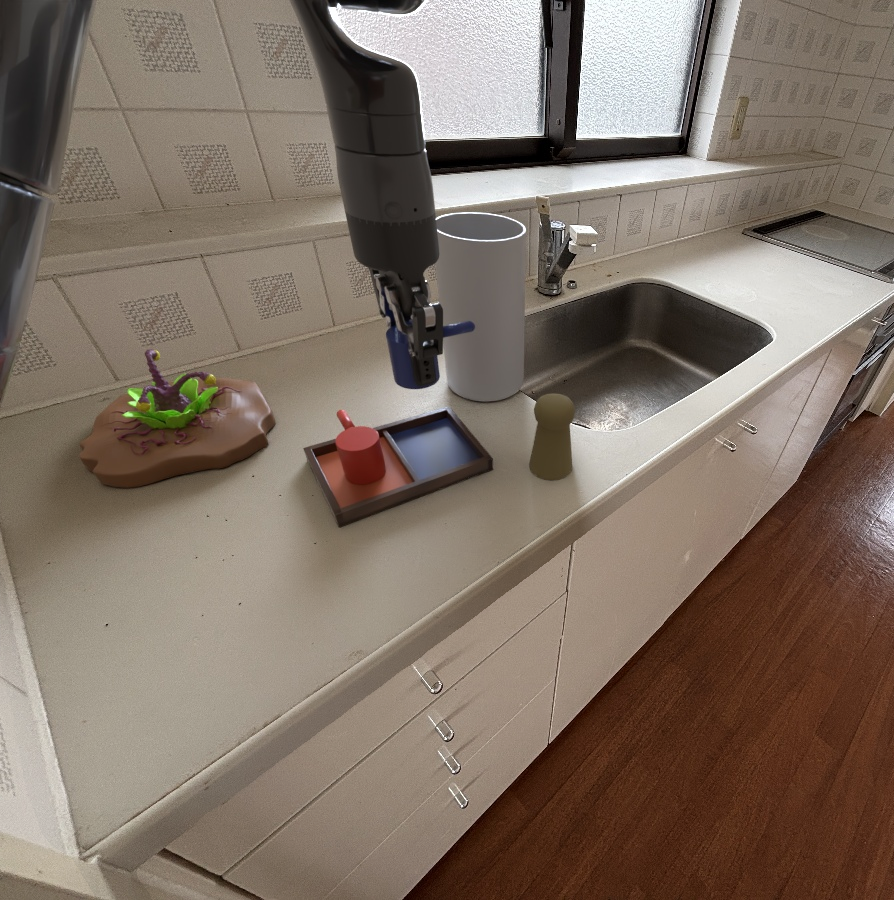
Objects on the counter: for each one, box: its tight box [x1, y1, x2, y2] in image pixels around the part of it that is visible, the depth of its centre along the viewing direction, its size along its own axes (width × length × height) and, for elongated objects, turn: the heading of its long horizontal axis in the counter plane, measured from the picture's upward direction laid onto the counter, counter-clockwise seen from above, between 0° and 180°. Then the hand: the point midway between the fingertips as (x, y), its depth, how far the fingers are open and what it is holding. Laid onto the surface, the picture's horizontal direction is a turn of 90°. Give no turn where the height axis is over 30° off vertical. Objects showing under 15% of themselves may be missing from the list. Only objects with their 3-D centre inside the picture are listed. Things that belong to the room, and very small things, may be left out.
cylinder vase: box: [434, 211, 527, 402], centre depth 75 cm, size 12×12×25 cm
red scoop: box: [335, 409, 386, 485], centre depth 62 cm, size 10×5×6 cm, turn 37°
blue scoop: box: [385, 321, 475, 390], centre depth 55 cm, size 10×5×6 cm, turn 127°
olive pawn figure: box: [528, 392, 576, 481], centre depth 65 cm, size 6×6×11 cm
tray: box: [303, 406, 494, 528], centre depth 65 cm, size 20×14×2 cm
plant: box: [78, 348, 276, 489], centre depth 62 cm, size 20×20×11 cm
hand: (415, 370), depth 55 cm, fingers closed on blue scoop, 4 cm apart
